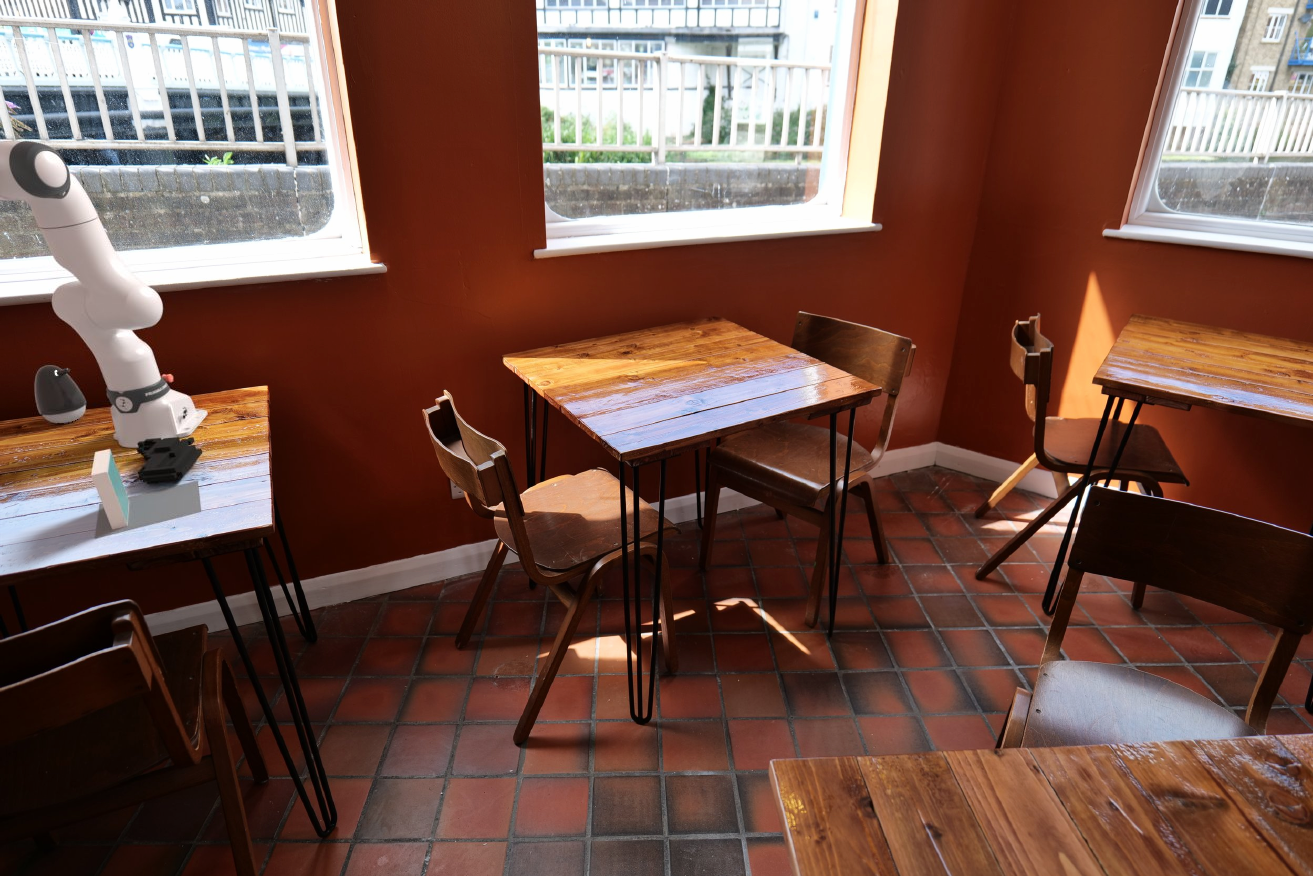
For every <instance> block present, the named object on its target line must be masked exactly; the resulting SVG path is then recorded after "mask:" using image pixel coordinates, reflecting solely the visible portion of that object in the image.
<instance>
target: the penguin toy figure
mask: <svg viewBox="0 0 1313 876" xmlns="http://www.w3.org/2000/svg"><path fill="white" fill-rule="evenodd" d="M70 371H71V369H70V368H68V367H66V368H64V369H62V368H60V367H59V366H56V365H52V364H51V365H50V364H48V365H44V366H42V367H40V368H39V369H38V370H37V373H36V374H35V379H34V397H35V403H36V407H37V410H38V413H39V414H40V415H42V417H43V418H44V419H45V420H47V421H48V422H50V423H54V424H57V423H64V424H69V423H72V421H73V422H75V420H76V421H78V420H79V419H81V418H82V417H83V416H84V414H85V412H86V409H87V408H86V407H87V400H86V398H85V396H84V394H83V392H82V391H81V390H80V389H81V388H79V386H78V384H77V383H76V382H75V381H74V380H73V378H71V376H70V375H69V374H68V373H69V372H70ZM77 419H78V420H77ZM68 422H69V423H68Z"/></svg>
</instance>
